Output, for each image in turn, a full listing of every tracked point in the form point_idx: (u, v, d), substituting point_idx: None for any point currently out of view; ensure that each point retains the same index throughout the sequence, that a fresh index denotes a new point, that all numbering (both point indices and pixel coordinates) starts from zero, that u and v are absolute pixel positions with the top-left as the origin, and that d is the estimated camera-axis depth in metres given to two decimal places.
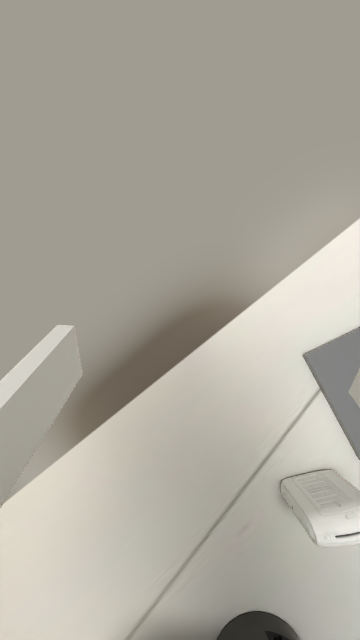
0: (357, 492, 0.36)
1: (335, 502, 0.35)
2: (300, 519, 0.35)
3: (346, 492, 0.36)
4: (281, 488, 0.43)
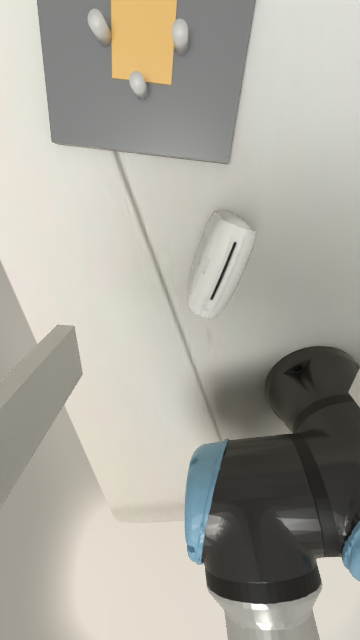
0: (214, 222, 0.25)
1: (198, 264, 0.25)
2: None
3: (208, 235, 0.25)
4: None
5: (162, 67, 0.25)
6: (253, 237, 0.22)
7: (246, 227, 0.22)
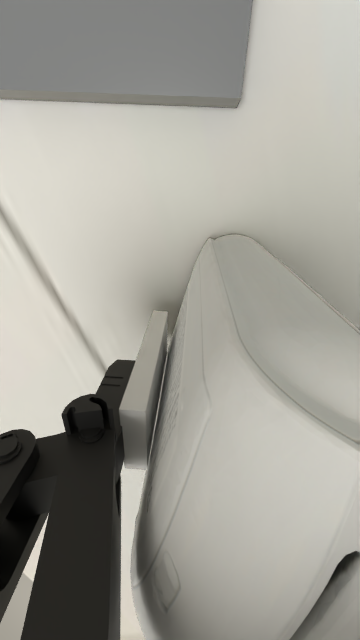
0: (204, 319, 0.06)
1: (152, 473, 0.07)
2: None
3: (184, 355, 0.07)
4: None
5: None
6: None
7: None
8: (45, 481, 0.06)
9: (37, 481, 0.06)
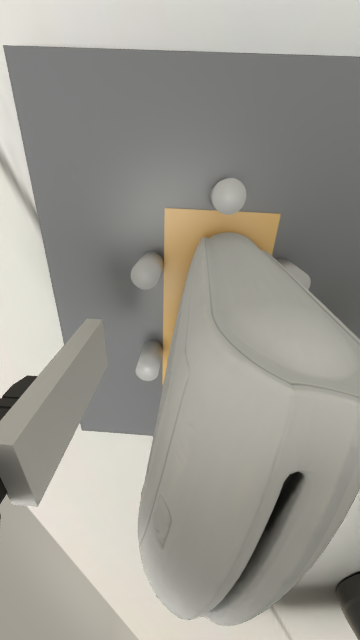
0: (190, 306, 0.07)
1: (152, 444, 0.07)
2: None
3: (177, 340, 0.08)
4: None
5: None
6: None
7: (342, 365, 0.04)
8: None
9: None
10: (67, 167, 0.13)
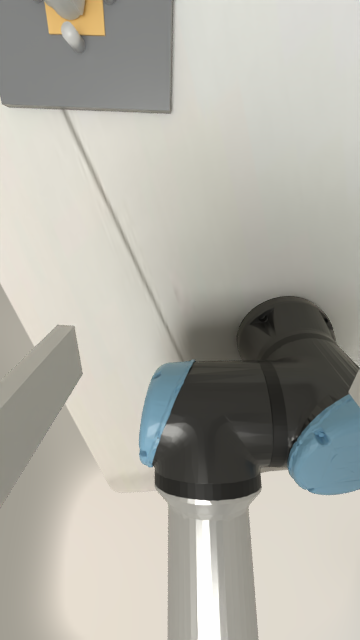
0: None
1: None
2: None
3: None
4: (57, 12, 0.25)
5: (94, 18, 0.26)
6: None
7: None
8: None
9: None
10: None
